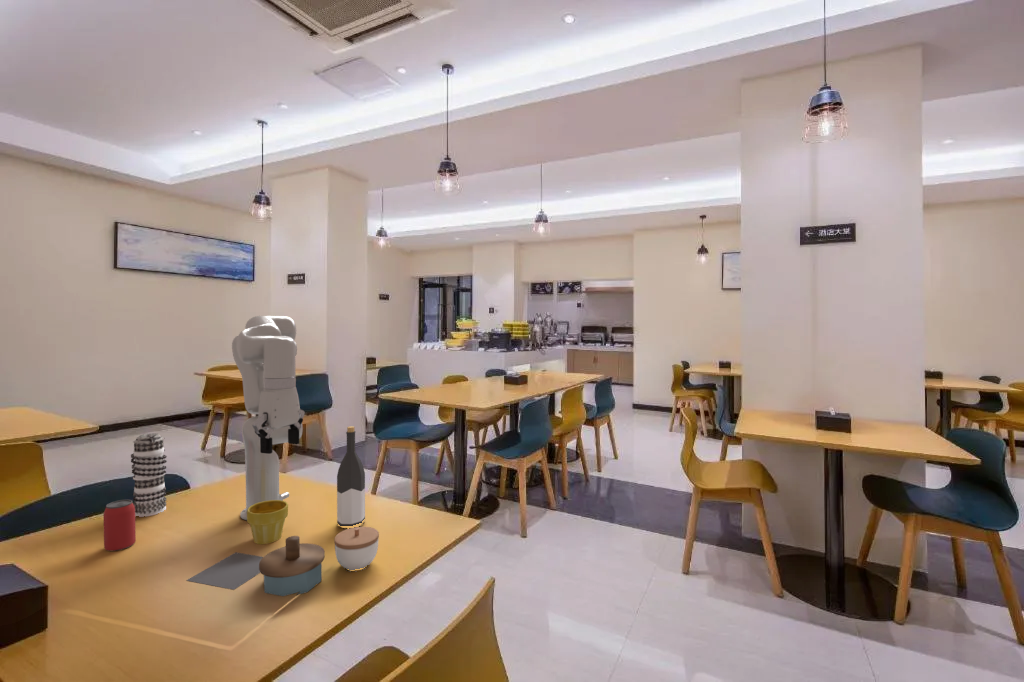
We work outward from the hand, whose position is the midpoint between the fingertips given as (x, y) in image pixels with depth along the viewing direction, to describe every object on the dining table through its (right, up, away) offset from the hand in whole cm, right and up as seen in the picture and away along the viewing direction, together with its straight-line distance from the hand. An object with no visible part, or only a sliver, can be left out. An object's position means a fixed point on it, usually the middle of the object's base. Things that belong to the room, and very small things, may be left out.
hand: (280, 448), depth 123 cm
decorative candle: (-56, -27, +27) cm, 68 cm away
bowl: (+10, -29, -13) cm, 33 cm away
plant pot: (-8, -28, +8) cm, 30 cm away
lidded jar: (+22, -29, -5) cm, 37 cm away
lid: (+10, -24, -13) cm, 29 cm away
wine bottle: (+12, -28, +19) cm, 36 cm away
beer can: (-46, -28, +4) cm, 54 cm away
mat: (-7, -29, -9) cm, 31 cm away
